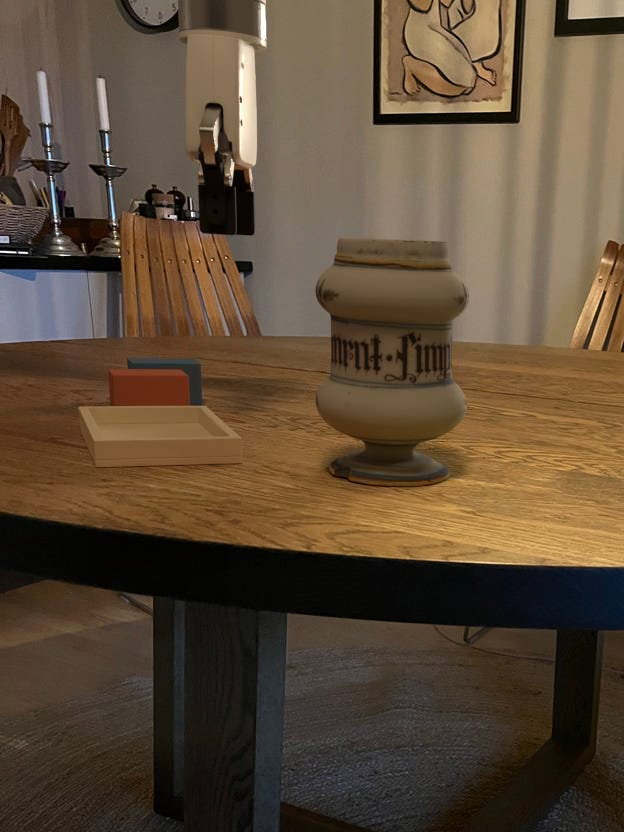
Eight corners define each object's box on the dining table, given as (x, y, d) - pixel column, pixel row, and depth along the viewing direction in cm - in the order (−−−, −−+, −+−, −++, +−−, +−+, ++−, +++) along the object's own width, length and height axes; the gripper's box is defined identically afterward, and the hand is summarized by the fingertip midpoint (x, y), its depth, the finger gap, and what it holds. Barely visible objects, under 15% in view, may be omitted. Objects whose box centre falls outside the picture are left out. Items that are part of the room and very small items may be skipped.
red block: (115, 422, 99) (112, 375, 97) (111, 414, 103) (107, 368, 101) (190, 421, 102) (188, 375, 100) (183, 413, 106) (181, 369, 104)
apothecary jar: (284, 468, 84) (281, 231, 77) (390, 453, 92) (395, 238, 86) (388, 497, 77) (395, 238, 70) (492, 477, 85) (507, 245, 79)
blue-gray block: (134, 406, 108) (131, 363, 106) (129, 399, 112) (126, 357, 110) (202, 405, 111) (201, 363, 109) (195, 399, 115) (193, 358, 113)
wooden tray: (79, 429, 94) (77, 406, 94) (206, 427, 99) (205, 405, 98) (95, 467, 80) (93, 440, 80) (242, 463, 85) (241, 437, 84)
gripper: (201, 41, 99) (207, 232, 105) (154, 2, 83) (165, 231, 89) (279, 46, 99) (282, 237, 105) (249, 9, 83) (253, 236, 89)
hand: (228, 234), depth 97 cm, fingers open, 9 cm apart
